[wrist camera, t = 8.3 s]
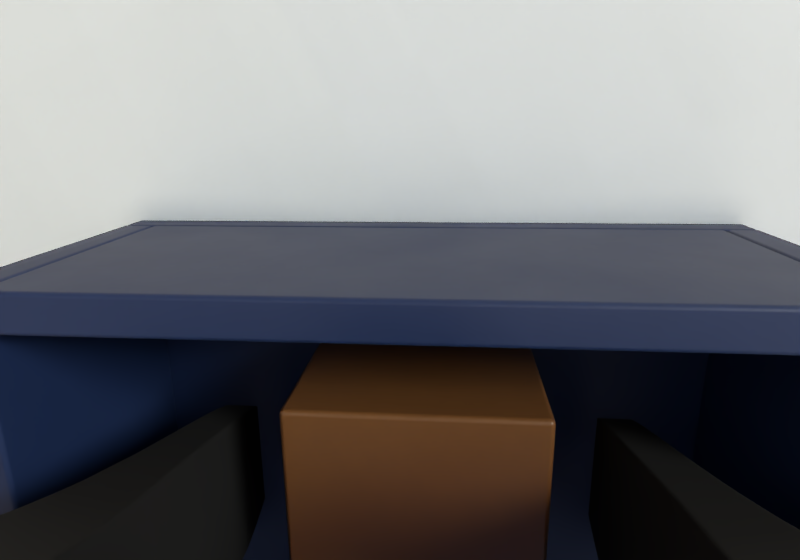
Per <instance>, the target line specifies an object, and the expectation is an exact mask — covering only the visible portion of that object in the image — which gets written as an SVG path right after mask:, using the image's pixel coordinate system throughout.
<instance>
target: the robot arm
mask: <svg viewBox="0 0 800 560" xmlns="http://www.w3.org/2000/svg"><path fill="white" fill-rule="evenodd" d="M264 500H265V492H264V480H263V469H262V457H261V445H260V433H259V421H258V409H257V406H242V405H225V406H223V407H221V408H218V409H216V410H214V411H212V412H210V413H208V414H206V415H204V416H202V417H201V418H199V419H197V420H195V421H193V422H191V423H190V424H188V425H186V426H184V427H183V428H181V429H179V430H177V431H175V432H174V433H172V434H170V435H168V436H166V437H165V438H163V439H161V440H159V441H157V442H156V443H154V444H152V445H150V446H148V447H147V448H145V449H143V450H141V451H139V452H137V453H136V454H134V455H132V456H130V457H128V458H126V459H124V460H122V461H120V462H118V463H116V464H114V465H112V466H110V467H108V468H106V469H104V470H102V471H100V472H98V473H97V474H95V475H93V476H91V477H89V478H87V479H84V480H82V481H80V482H78V483H76V484H74V485H72V486H69V487H67V488H65V489H63V490H61V491H58V492H56V493H54V494H51V495H49V496H46V497H44V498H42V499H39V500H37V501H35V502H32V503H30V504H27V505H25V506H22V507H20V508H17V509H15V510H12V511H10V512H7V513H4V514H1V515H0V560H242V559H243V557H244V555H245V553H246V551H247V549H248V547H249V544H250V541H251V538H252V536H253V533H254V530H255V527H256V524H257V521H258V518H259V515H260V512H261V509H262V506H263V503H264ZM588 516H589V520H590V525H591V529H592V534H593V539H594V543H595V547H596V552H597V556H598V560H800V530H799V529H797V528H796V527H794V526H792V525H791V524H789V523H787V522H785V521H784V520H782V519H780V518H779V517H777V516H775V515H774V514H772V513H770V512H769V511H767V510H766V509H764V508H762V507H761V506H759V505H758V504H756V503H754V502H753V501H751V500H749V499H748V498H746V497H745V496H743V495H741V494H740V493H738V492H737V491H735V490H734V489H732V488H731V487H729V486H728V485H726V484H725V483H723V482H722V481H720V480H719V479H717V478H716V477H714V476H713V475H711V474H710V473H709V472H707V471H706V470H704V469H703V468H701V467H700V466H699V465H697V464H696V463H694V462H693V461H691V460H690V459H689V458H687V457H686V456H684V455H683V454H682V453H680V452H679V451H677V450H676V449H675V448H673V447H672V446H670V445H669V444H668V443H666V442H665V441H663V440H662V439H661V438H659V437H658V436H656V435H655V434H654V433H652V432H651V431H649V430H648V429H646V428H645V427H643V426H642V425H640V424H639V423H637V422H635V421H634V420H632V419H605V418H597V426H596V437H595V447H594V458H593V469H592V480H591V490H590V501H589V512H588Z"/></svg>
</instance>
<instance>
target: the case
mask: <svg viewBox="0 0 800 560" xmlns="http://www.w3.org/2000/svg"><path fill="white" fill-rule="evenodd" d="M320 343H330V344H369V345H408V346H447V347H486V348H525V349H531V350H532V353H533V356H534V359H535V362H536V365H537V368H538V371H539V374H540V377H541V380H542V383H543V386H544V389H545V392H546V395H547V398H548V401H549V404H550V407H551V410H552V413H553V416H554V419H555V422H556V432H555V446H554V460H553V473H552V487H551V501H550V515H549V529H548V543H547V557H546V560H598V556H597V552H596V547H595V543H594V539H593V534H592V529H591V525H590V520H589V516H588V512H589V501H590V490H591V480H592V469H593V458H594V447H595V437H596V426H597V418H605V419H632V420H634V421H635V422H637V423H639V424H640V425H642V426H643V427H645V428H646V429H648V430H649V431H651V432H652V433H654V434H655V435H656V436H658V437H659V438H661V439H662V440H663V441H665V442H666V443H668V444H669V445H670V446H672V447H673V448H675V449H676V450H677V451H679V452H680V453H682V454H683V455H684V456H686V457H687V458H689V459H690V460H691V461H693V462H694V463H696V464H697V465H699V466H700V467H701V468H703V469H704V470H706V471H707V472H709V473H710V474H711V475H713V476H714V477H716V478H717V479H719V480H720V481H722V482H723V483H725V484H726V485H728V486H729V487H731V488H732V489H734V490H735V491H737V492H738V493H740V494H741V495H743V496H745V497H746V498H748V499H749V500H751V501H753V502H754V503H756V504H758V505H759V506H761V507H762V508H764V509H766V510H767V511H769V512H770V513H772V514H774V515H775V516H777V517H779V518H780V519H782V520H784V521H785V522H787V523H789V524H791V525H792V526H794V527H796V528H797V529H799V530H800V246H799V245H796V244H793V243H791V242H788V241H785V240H783V239H780V238H777V237H775V236H772V235H769V234H766V233H764V232H761V231H758V230H755V229H752V228H750V227H747V226H744V225H738V224H584V223H429V222H275V221H139V222H136V223H133V224H130V225H128V226H124V227H121V228H118V229H115V230H112V231H109V232H106V233H103V234H100V235H97V236H94V237H91V238H88V239H85V240H82V241H79V242H76V243H73V244H70V245H66V246H63V247H60V248H57V249H54V250H51V251H48V252H45V253H42V254H39V255H36V256H33V257H30V258H27V259H24V260H21V261H18V262H15V263H12V264H9V265H6V266H3V267H0V515H1V514H4V513H7V512H10V511H12V510H15V509H17V508H20V507H22V506H25V505H27V504H30V503H32V502H35V501H37V500H39V499H42V498H44V497H46V496H49V495H51V494H54V493H56V492H58V491H61V490H63V489H65V488H67V487H69V486H72V485H74V484H76V483H78V482H80V481H82V480H84V479H87V478H89V477H91V476H93V475H95V474H97V473H98V472H100V471H102V470H104V469H106V468H108V467H110V466H112V465H114V464H116V463H118V462H120V461H122V460H124V459H126V458H128V457H130V456H132V455H134V454H136V453H137V452H139V451H141V450H143V449H145V448H147V447H148V446H150V445H152V444H154V443H156V442H157V441H159V440H161V439H163V438H165V437H166V436H168V435H170V434H172V433H174V432H175V431H177V430H179V429H181V428H183V427H184V426H186V425H188V424H190V423H191V422H193V421H195V420H197V419H199V418H201V417H202V416H204V415H206V414H208V413H210V412H212V411H214V410H216V409H218V408H221V407H223V406H225V405H242V406H257V409H258V421H259V433H260V445H261V457H262V469H263V480H264V492H265V500H264V503H263V506H262V509H261V512H260V515H259V518H258V521H257V524H256V527H255V530H254V533H253V536H252V538H251V541H250V544H249V547H248V549H247V551H246V553H245V555H244V557H243V559H242V560H290V554H289V541H288V527H287V514H286V500H285V486H284V473H283V459H282V446H281V432H280V418H279V413H280V410H281V408H282V407H283V405H284V403H285V402H286V400H287V398H288V397H289V395H290V393H291V391H292V390H293V388H294V386H295V385H296V383H297V381H298V380H299V378H300V376H301V375H302V373H303V371H304V370H305V368H306V366H307V364H308V363H309V361H310V359H311V358H312V356H313V354H314V353H315V351H316V349H317V348H318V346H319V344H320Z"/></svg>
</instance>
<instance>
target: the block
mask: <svg viewBox="0 0 800 560" xmlns="http://www.w3.org/2000/svg"><path fill="white" fill-rule="evenodd" d="M279 418H280V432H281V446H282V459H283V473H284V486H285V500H286V514H287V527H288V541H289V554H290V560H546V557H547V543H548V529H549V515H550V501H551V487H552V473H553V460H554V446H555V432H556V422H555V419H554V416H553V413H552V410H551V407H550V404H549V401H548V398H547V395H546V392H545V389H544V386H543V383H542V380H541V377H540V374H539V371H538V368H537V365H536V362H535V359H534V356H533V353H532V350H531V349H525V348H486V347H447V346H408V345H369V344H330V343H320V344H319V346H318V348H317V349H316V351H315V353H314V354H313V356H312V358H311V359H310V361H309V363H308V364H307V366H306V368H305V370H304V371H303V373H302V375H301V376H300V378H299V380H298V381H297V383H296V385H295V386H294V388H293V390H292V391H291V393H290V395H289V397H288V398H287V400H286V402H285V403H284V405H283V407H282V408H281V410H280V413H279Z"/></svg>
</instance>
